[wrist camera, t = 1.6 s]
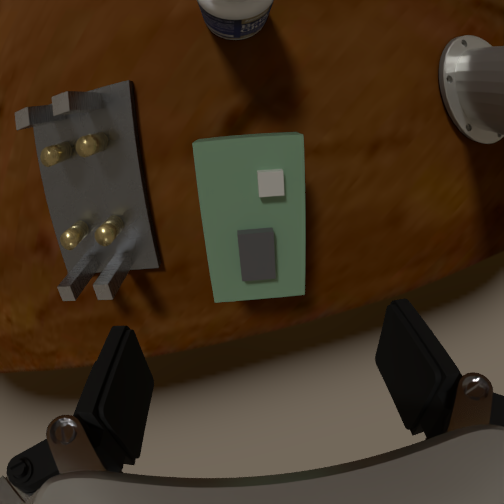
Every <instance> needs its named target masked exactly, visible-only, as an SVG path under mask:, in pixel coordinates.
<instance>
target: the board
mask: <svg viewBox="0 0 504 504" xmlns="http://www.w3.org/2000/svg"><path fill="white" fill-rule="evenodd" d="M192 144H193V153H194V161H195V170H196V178H197V186H198V194H199V201H200V209H201V216H202V223H203V231H204V237H205V244H206V251H207V258H208V264H209V270H210V277H211V283H212V289H213V295H214V301H215V302H229V301H242V300H254V299H265V298H276V297H287V296H297V295H305V244H306V228H305V167H304V139H303V134H300V133H298V132H282V133H263V134H249V135H236V136H225V137H215V138H206V139H198V140H196V141H195V142H193V143H192Z"/></svg>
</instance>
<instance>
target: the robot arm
mask: <svg viewBox="0 0 504 504" xmlns="http://www.w3.org/2000/svg"><path fill="white" fill-rule="evenodd" d="M439 83H440V90H441V94H442V98H443V101H444V104H445V107H446V109H447V112H448V114H449V116H450V117H451V119H452V121H453V123H454V124H455V125H456V126H457V128H458V129H459V130H460V131H461V132H462V133H463V134H464V135H465V136H466V137H468V138H470V139H471V140H473V141H476V142H479V143H484V144H491V143H495V142H497V141H499V140H500V139H502V138H503V137H504V46H496V47H492V46H491V45H490V44H489V43H487V42H486V41H484V40H483V39H481V38H479V37H475V36H467V35H465V36H460V37H457V38H455V39H453V40H451V41H450V42H449V43H448V44H447V45H446V47H445V49H444V50H443V52H442V56H441V59H440V65H439ZM375 361H376V365H377V366H378V369H379V371H380V373H381V375H382V377H383V379H384V381H385V383H386V386H387V388H388V390H389V392H390V394H391V397H392V399H393V401H394V403H395V405H396V408H397V410H398V412H399V414H400V417H401V419H402V421H403V423H404V426H405V428H406V429H408V430H409V429H410V431H411V433H412V435H416V434H418V433H421V432H424V433H425V435H426V439H425V440H424V441H421V442H419V443H415V444H412V445H410V446H406V447H403V448H400V449H397V450H393V451H390V452H387V453H383V454H380V455H376V456H373V457H369V458H365V459H361V460H357V461H353V462H349V463H344V464H340V465H335V466H330V467H324V468H319V469H314V470H308V471H301V472H294V473H286V474H278V475H267V476H257V477H239V478H177V477H160V476H146V475H137V474H127V473H123V472H122V468H123V464H129V465H134V464H135V459H136V458H139V457H140V452H141V447H142V442H143V436H144V431H145V426H146V421H147V416H148V411H149V406H150V401H151V397H152V392H153V387H154V380H153V377H152V374H151V372H150V370H149V367H148V365H147V362H146V360H145V357H144V355H143V352H142V350H141V347H140V345H139V342H138V340H137V337H136V334H135V332H134V330H130V328H129V327H128V326H113V327H112V328H111V330H110V333H109V335H108V337H107V339H106V341H105V344H104V346H103V348H102V350H101V353H100V355H99V357H98V360H97V361H96V362H95V363H94V365H93V367H92V370H91V372H90V375H89V377H88V379H87V382H86V384H85V387H84V389H83V392H82V394H81V397H80V400H79V402H78V404H77V407H76V410H75V412H74V415H73V416H72V415H61V416H58V417H56V418H55V419H53V420H52V421H51V422H50V424H49V425H48V427H47V430H46V438H47V439H45V440H44V441H42V442H40V443H38V444H36V445H35V446H33V447H31V448H29V449H27V450H26V451H24V452H22V453H20V454H18V455H16V456H15V457H13V458H12V459H11V460H10V462H9V463H8V466H7V477H6V478H5V477H4V476H2V477H1V478H0V504H504V396H502V395H499V394H496V393H493V387H492V385H491V382H490V381H489V380H488V379H487V378H486V377H485V376H483V375H481V374H479V373H467V374H466V375H463V376H462V375H461V373H460V371H459V369H458V368H457V366H456V365H455V363H454V362H453V360H452V359H451V358H450V356H449V355H448V353H447V352H446V350H445V349H444V348H443V346H442V345H441V344H440V342H439V341H438V339H437V338H436V336H435V335H434V334H433V332H432V331H431V330H430V328H429V327H428V326H427V324H426V323H425V321H424V320H423V319H422V318H421V316H420V315H419V314H418V312H417V311H416V310H415V308H414V307H413V306H412V304H411V303H410V302H409V301H408V300H407V299H400V300H394V301H392V302H391V304H390V305H388V306H387V309H386V314H385V319H384V323H383V327H382V332H381V336H380V340H379V344H378V348H377V352H376V356H375Z"/></svg>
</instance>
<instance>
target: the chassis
mask: <svg viewBox="0 0 504 504" xmlns="http://www.w3.org/2000/svg"><path fill="white" fill-rule="evenodd" d="M15 120H16V129H17V130H21V129H26V128H31V127H33V128H34V135H35V142H36V149H37V155H38V161H39V166H40V171H41V177H42V181H43V186H44V191H45V195H46V199H47V203H48V207H49V211H50V215H51V219H52V223H53V226H54V230H55V233H56V237H57V240H58V243H59V246H60V250H61V253H62V256H63V259H64V262H65V265H66V268H67V270H68V275H67V276H66V277H65V278H64V279H63V281H62V282H61V283H60V284H59V285H58V287H57V288H58V290H59V293H60V295H61V297H62V300H63V301H76V299H77V298H78V296H79V295H80V293H81V292H82V291H83V289H84V288H85V286H86V285H87V284H88V282H89V281H90V279H91V278H92V277H93V275H94V274H95V273H97V272H102V273H101V274H100V276H99V277H98V278H97V280H96V281H95V283H94V284H93V287H94V290H95V293H96V295H97V298H98V300H110V299H113V298H114V297H115V295H116V293H117V291H118V290H119V288H120V286H121V284H122V282H123V281H124V279H125V277H126V276H127V274H128V272H129V270H137V269H150V268H159V266H160V264H161V261H160V256H159V252H158V247H157V242H156V238H155V233H154V228H153V223H152V218H151V212H150V207H149V202H148V196H147V190H146V184H145V178H144V172H143V166H142V159H141V152H140V145H139V137H138V129H137V121H136V112H135V103H134V92H133V81H130V80H128V81H124V82H120V83H116V84H112V85H109V86H105V87H101V88H98V89H94V90H91V91H88V92H77V91H67V92H64V93H61V94H59V95H56V96H53V97H52V104H50V105H44V106H32V107H26V108H24V109H22V110H20V111H18V112H15Z"/></svg>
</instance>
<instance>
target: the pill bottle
mask: <svg viewBox="0 0 504 504" xmlns="http://www.w3.org/2000/svg"><path fill="white" fill-rule="evenodd" d="M197 1H198V4H199V7H200V9H201V12H202V15H203V18H204V21H205V23H206V25H207V27H208V28H209V29H210V30H211V31H212V32H213V33H214V34H215V35H217V36H219V37H221V38H225V39H230V40H240V39H245V38H248V37H251V36H253V35H254V34H256V33H257V32H258V31H260V30H261V28H262V27H263V26H264V24H265V22H266V20H267V17H268V14H269V12H270V9H271V6H272V3H273V1H274V0H197Z"/></svg>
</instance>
